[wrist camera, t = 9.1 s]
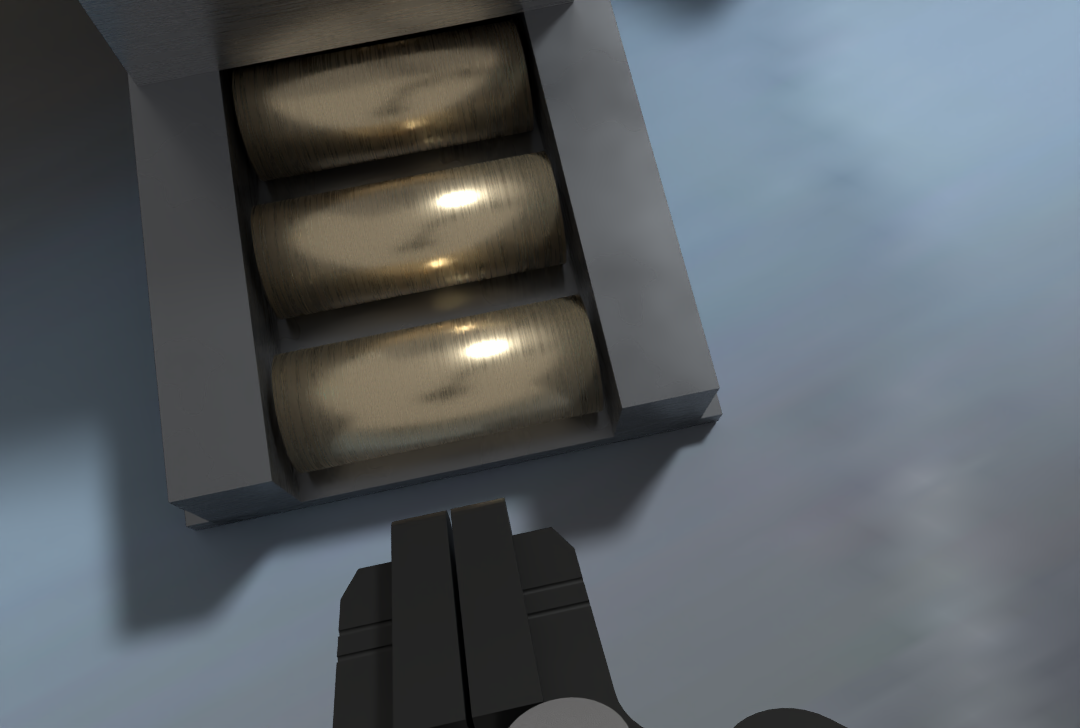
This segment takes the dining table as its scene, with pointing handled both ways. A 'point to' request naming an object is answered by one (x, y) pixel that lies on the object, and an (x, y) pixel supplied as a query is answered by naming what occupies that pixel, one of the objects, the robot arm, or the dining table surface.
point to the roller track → (409, 264)
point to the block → (266, 28)
